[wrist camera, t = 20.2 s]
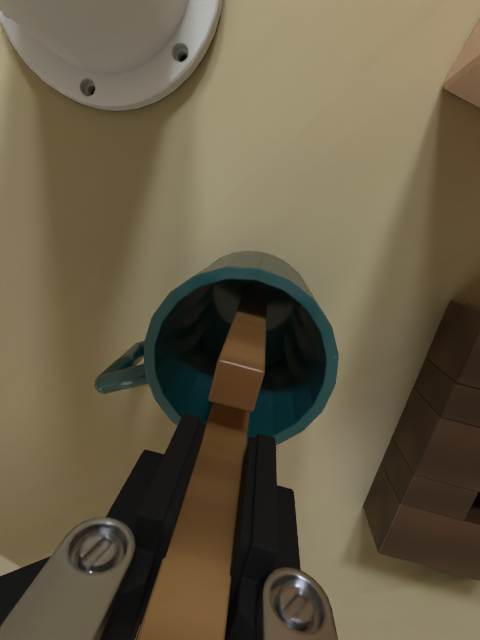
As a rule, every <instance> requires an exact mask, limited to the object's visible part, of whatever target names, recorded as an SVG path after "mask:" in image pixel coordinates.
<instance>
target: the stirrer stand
mask: <svg viewBox="0 0 480 640" xmlns="http://www.w3.org/2000/svg"><path fill="white" fill-rule="evenodd" d="M363 508H364V511H365V514H366V517H367V520H368V523H369V526H370V529H371V532H372V535H373V538H374V541H375V544H376V547H377V550H378V553H380V554H383V555H387V556H391V557H394V558H398V559H402V560H405V561H409V562H413V563H417V564H420V565H424V566H428V567H431V568H435V569H439V570H442V571H446V572H450V573H453V574H457V575H461V576H465V577H468V578H472V579H476V580H479V581H480V307H476V306H472V305H468V304H464V303H461V302H457V301H453V300H450V302H449V304H448V307H447V309H446V311H445V314H444V316H443V319H442V321H441V323H440V326H439V328H438V330H437V333H436V335H435V338H434V340H433V342H432V345H431V347H430V349H429V352H428V354H427V358H426V359H425V361H424V364H423V366H422V368H421V371H420V373H419V376H418V378H417V380H416V383H415V385H414V387H413V389H412V391H411V394H410V396H409V399H408V401H407V403H406V406H405V408H404V410H403V413H402V415H401V418H400V420H399V422H398V425H397V427H396V429H395V432H394V434H393V438H392V439H391V442H390V444H389V446H388V449H387V451H386V453H385V456H384V458H383V461H382V463H381V465H380V468H379V470H378V472H377V475H376V477H375V480H374V482H373V484H372V487H371V489H370V491H369V494H368V496H367V498H366V501H365V503H364V506H363Z"/></svg>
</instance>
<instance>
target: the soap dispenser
mask: <svg viewBox="0 0 480 640" xmlns="http://www.w3.org/2000/svg"><path fill="white" fill-rule="evenodd" d="M443 88H444V89H445V90H447V91H449V92H451V93H453V94H455V95H456V96H458V97H460V98H462V99H464V100H466V101H468V102H469V103H471V104H473V105H475V106H477V107H479V108H480V20H479V21H478V23H477V25H476V27H475V28H474V30H473V32H472V34H471V36H470V37H469V39H468V41H467V43H466V44H465V46H464V48H463V50H462V52H461V53H460V55H459V57H458V59H457V60H456V62H455V64H454V66H453V67H452V69H451V71H450V73H449V75H448V76H447V78H446V80H445V82H444V83H443Z"/></svg>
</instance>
